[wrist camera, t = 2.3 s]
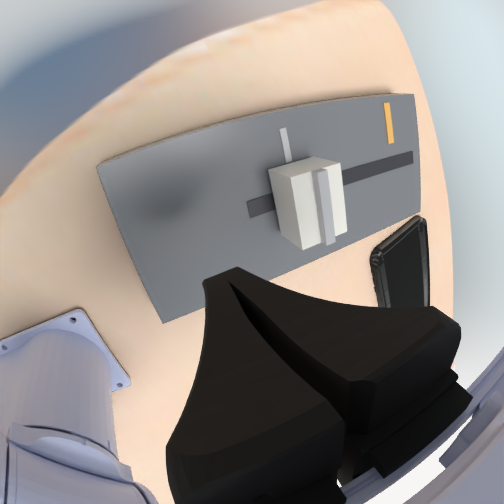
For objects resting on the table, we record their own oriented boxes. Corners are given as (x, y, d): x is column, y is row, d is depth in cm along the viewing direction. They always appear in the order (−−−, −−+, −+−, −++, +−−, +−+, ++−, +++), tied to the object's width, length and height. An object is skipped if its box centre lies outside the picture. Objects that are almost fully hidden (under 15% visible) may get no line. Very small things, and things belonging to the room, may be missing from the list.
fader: (281, 234, 18) (307, 254, 15) (268, 169, 16) (295, 179, 14) (322, 218, 19) (352, 234, 16) (313, 156, 17) (346, 164, 14)
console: (158, 302, 20) (163, 324, 18) (101, 162, 15) (95, 167, 13) (400, 203, 25) (421, 211, 23) (391, 93, 20) (414, 94, 18)
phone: (425, 213, 26) (429, 310, 34) (417, 210, 27) (424, 306, 35) (372, 256, 25) (387, 349, 33) (364, 252, 26) (382, 344, 34)
